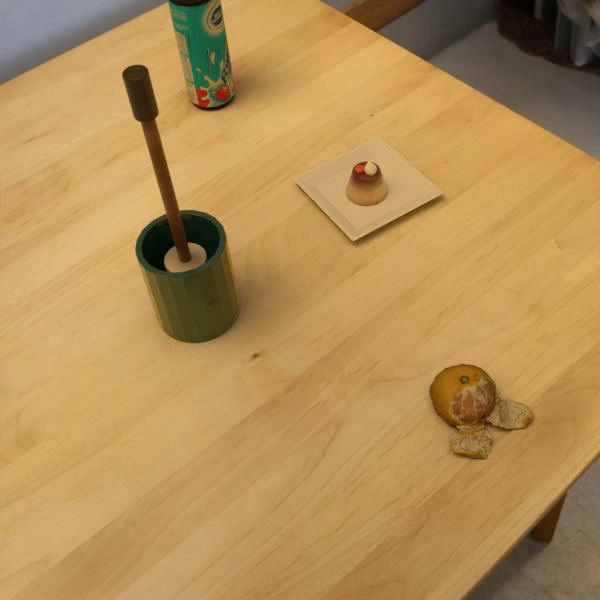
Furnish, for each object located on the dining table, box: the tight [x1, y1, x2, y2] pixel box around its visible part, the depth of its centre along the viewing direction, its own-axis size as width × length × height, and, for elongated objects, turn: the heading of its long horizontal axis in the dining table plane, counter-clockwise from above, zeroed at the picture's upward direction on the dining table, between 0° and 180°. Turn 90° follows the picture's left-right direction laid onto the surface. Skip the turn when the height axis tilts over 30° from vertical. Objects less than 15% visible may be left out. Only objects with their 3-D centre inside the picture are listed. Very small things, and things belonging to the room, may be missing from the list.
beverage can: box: [167, 0, 236, 110], centre depth 102 cm, size 6×6×15 cm
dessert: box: [292, 135, 444, 242], centre depth 93 cm, size 12×12×5 cm
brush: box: [121, 64, 208, 273], centre depth 75 cm, size 4×4×28 cm
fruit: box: [428, 363, 533, 460], centre depth 75 cm, size 8×8×4 cm
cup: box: [134, 209, 241, 344], centre depth 82 cm, size 8×8×10 cm
